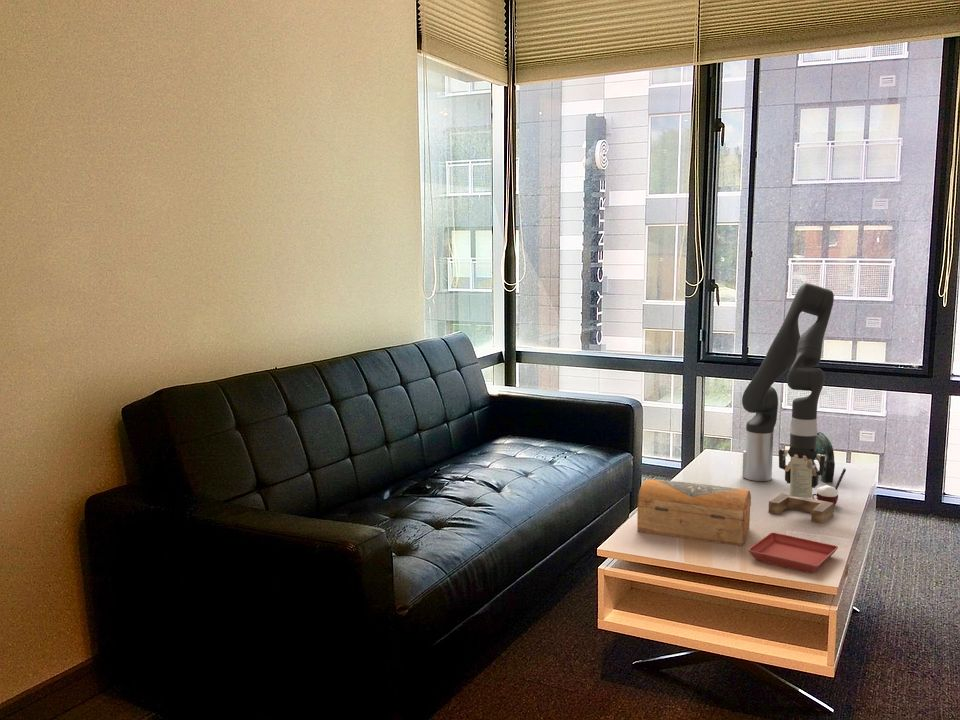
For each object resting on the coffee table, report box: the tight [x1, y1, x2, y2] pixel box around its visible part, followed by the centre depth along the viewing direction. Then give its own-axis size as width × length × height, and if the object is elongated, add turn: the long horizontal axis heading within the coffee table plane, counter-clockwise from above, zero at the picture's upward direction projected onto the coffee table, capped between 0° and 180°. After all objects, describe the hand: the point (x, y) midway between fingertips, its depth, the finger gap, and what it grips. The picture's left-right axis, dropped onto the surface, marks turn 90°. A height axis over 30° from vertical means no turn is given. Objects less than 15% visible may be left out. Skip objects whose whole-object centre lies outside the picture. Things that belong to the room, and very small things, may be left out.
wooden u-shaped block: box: [768, 493, 835, 524], centre depth 252 cm, size 16×11×4 cm
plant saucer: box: [747, 532, 839, 574], centre depth 216 cm, size 18×18×3 cm
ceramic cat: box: [815, 432, 836, 484], centre depth 292 cm, size 20×6×20 cm, turn 6°
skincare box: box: [789, 457, 813, 499], centre depth 250 cm, size 6×4×12 cm
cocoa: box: [811, 467, 847, 506], centre depth 259 cm, size 10×6×12 cm, turn 55°
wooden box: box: [636, 478, 752, 547], centre depth 238 cm, size 30×16×14 cm, turn 64°
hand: (801, 484), depth 250 cm, fingers closed on skincare box, 7 cm apart
